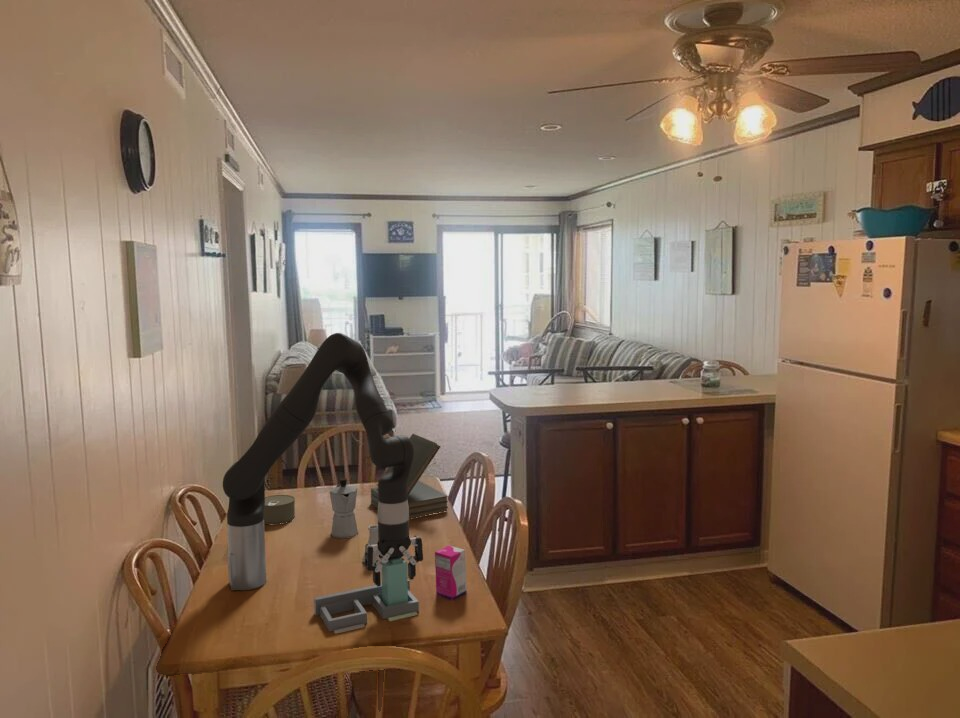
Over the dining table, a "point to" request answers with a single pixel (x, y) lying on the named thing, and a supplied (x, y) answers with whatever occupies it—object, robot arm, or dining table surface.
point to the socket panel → (360, 608)
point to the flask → (373, 540)
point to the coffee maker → (343, 510)
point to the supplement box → (450, 572)
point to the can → (279, 509)
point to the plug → (394, 582)
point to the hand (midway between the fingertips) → (394, 581)
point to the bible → (419, 482)
